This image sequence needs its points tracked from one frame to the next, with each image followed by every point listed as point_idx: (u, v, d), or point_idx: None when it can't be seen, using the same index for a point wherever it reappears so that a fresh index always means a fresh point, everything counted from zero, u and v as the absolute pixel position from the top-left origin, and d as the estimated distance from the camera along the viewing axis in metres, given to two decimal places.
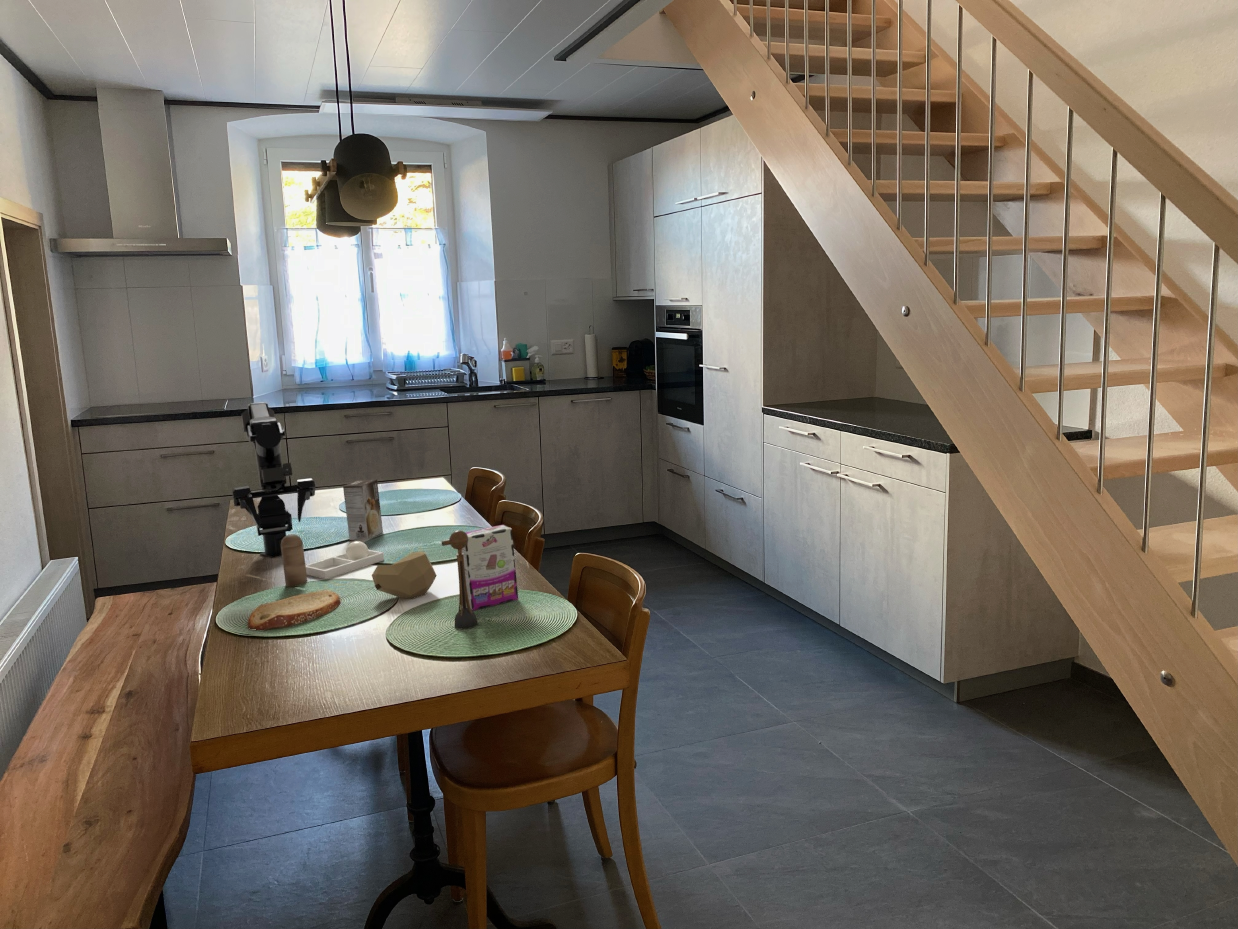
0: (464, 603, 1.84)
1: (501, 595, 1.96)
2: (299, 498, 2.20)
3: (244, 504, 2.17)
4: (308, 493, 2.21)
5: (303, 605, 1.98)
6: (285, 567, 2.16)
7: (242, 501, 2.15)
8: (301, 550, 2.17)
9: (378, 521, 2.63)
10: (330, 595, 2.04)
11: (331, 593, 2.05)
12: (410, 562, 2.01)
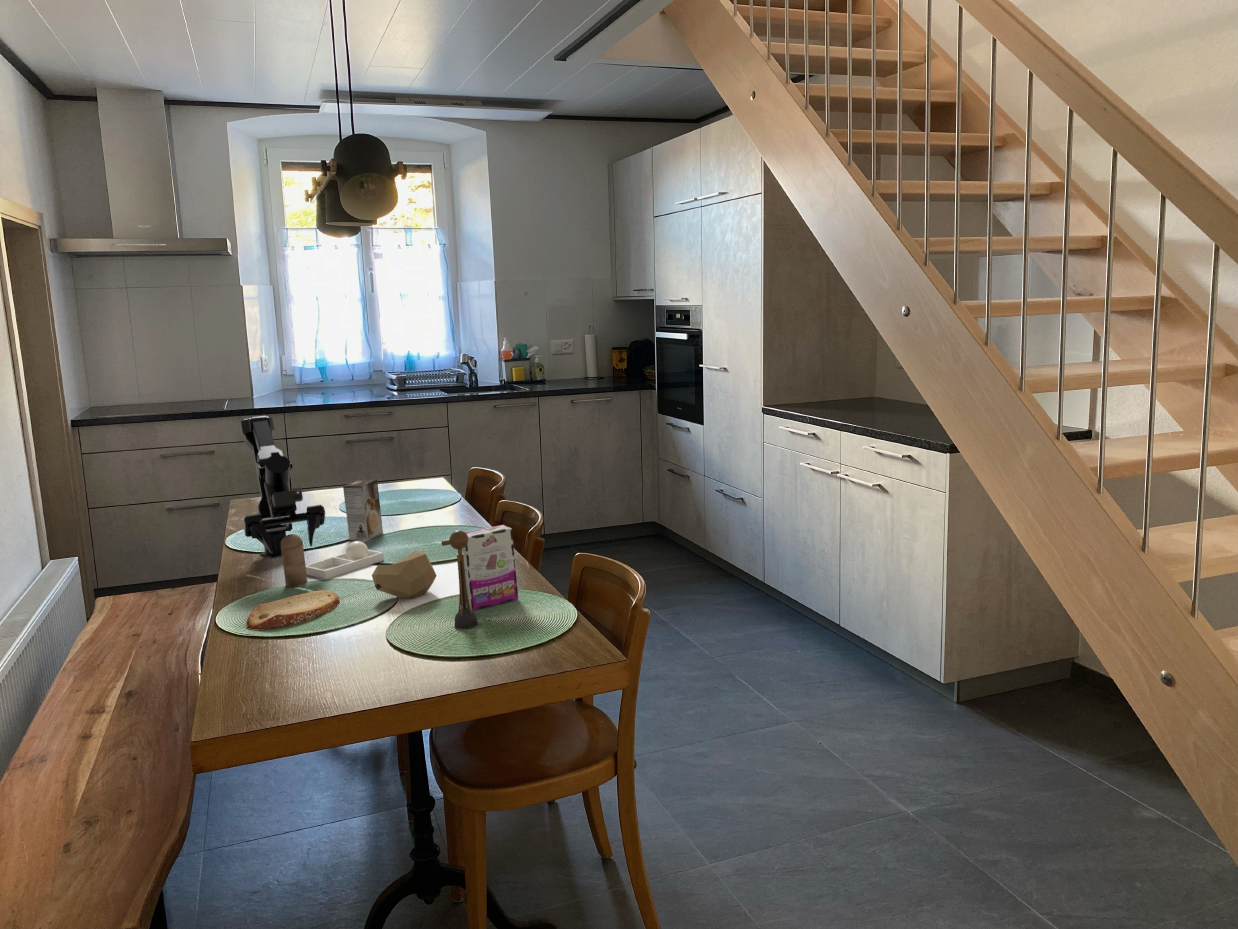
0: (464, 603, 1.84)
1: (501, 595, 1.96)
2: (310, 523, 2.22)
3: (255, 532, 2.18)
4: (318, 518, 2.24)
5: (302, 605, 1.98)
6: (285, 567, 2.16)
7: (254, 528, 2.17)
8: (301, 550, 2.17)
9: (378, 521, 2.63)
10: (329, 595, 2.04)
11: (330, 593, 2.05)
12: (410, 562, 2.01)
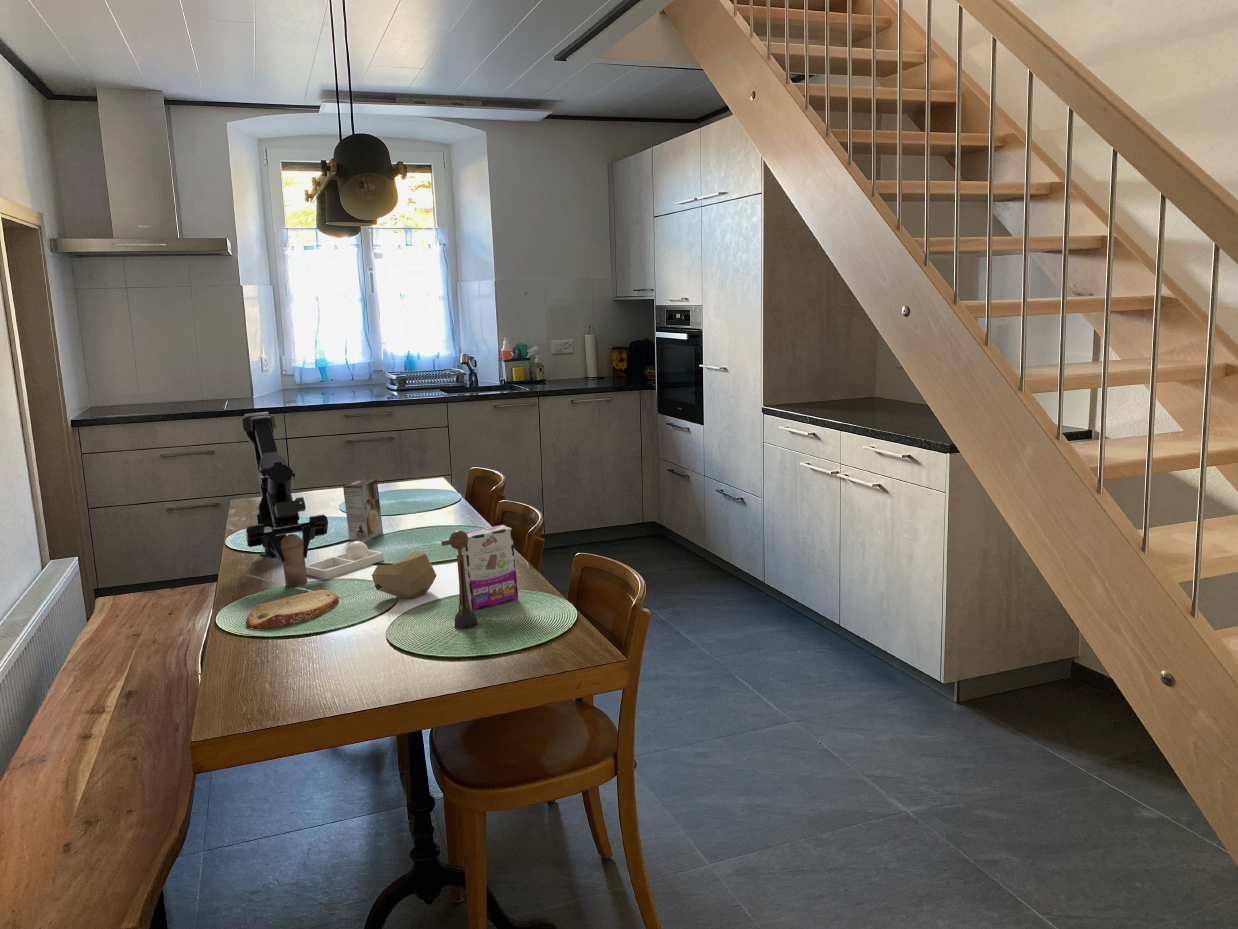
0: (464, 603, 1.84)
1: (501, 595, 1.96)
2: (304, 534, 2.20)
3: (266, 541, 2.18)
4: (313, 530, 2.21)
5: (301, 605, 1.98)
6: (285, 567, 2.16)
7: (265, 537, 2.16)
8: (301, 550, 2.17)
9: (378, 521, 2.63)
10: (328, 595, 2.04)
11: (329, 593, 2.05)
12: (410, 562, 2.01)
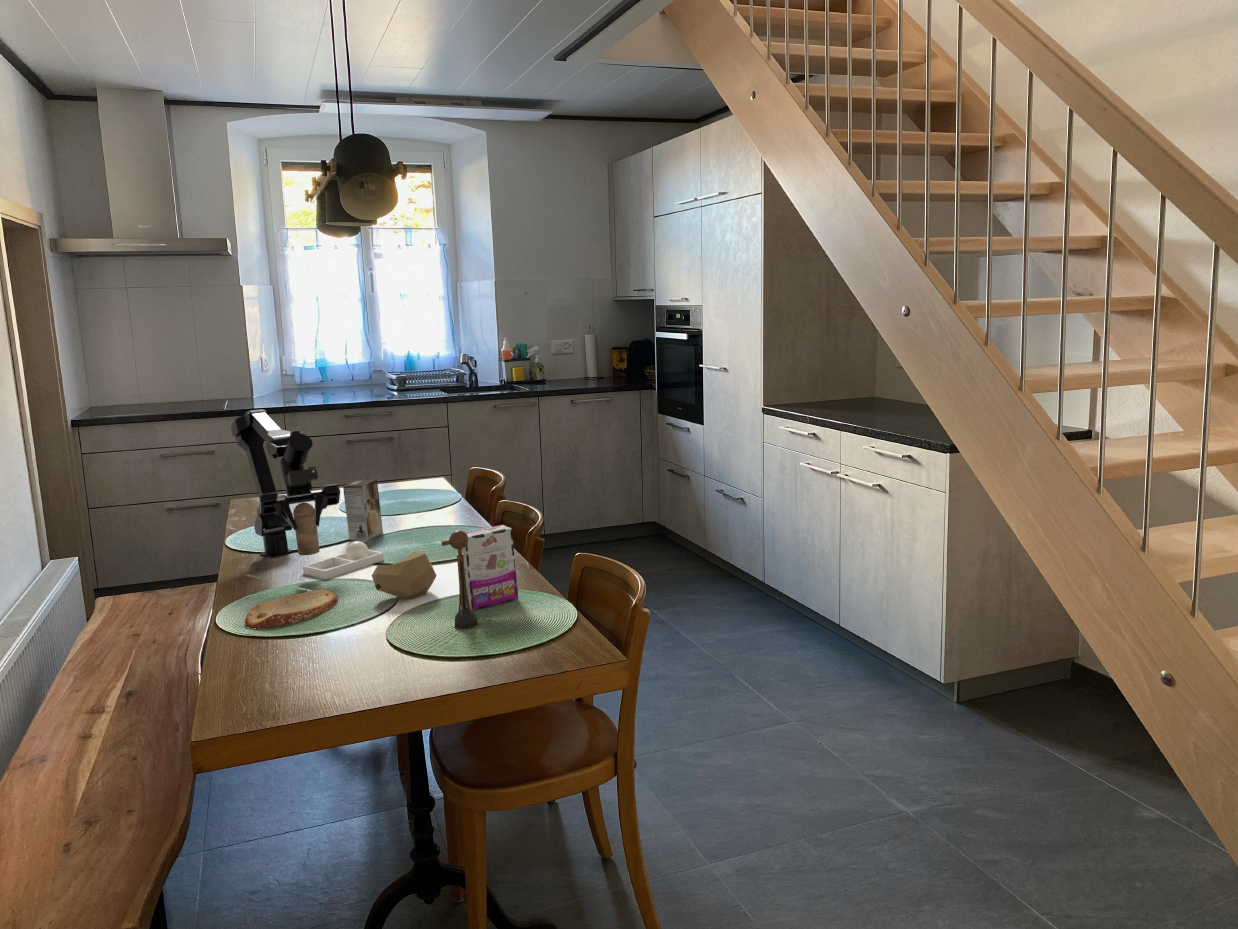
0: (464, 603, 1.84)
1: (501, 595, 1.96)
2: (317, 503, 2.22)
3: (279, 509, 2.20)
4: (325, 499, 2.24)
5: (300, 604, 1.99)
6: (297, 535, 2.18)
7: (278, 505, 2.18)
8: (313, 518, 2.19)
9: (378, 521, 2.63)
10: (327, 594, 2.05)
11: (328, 592, 2.05)
12: (410, 562, 2.01)
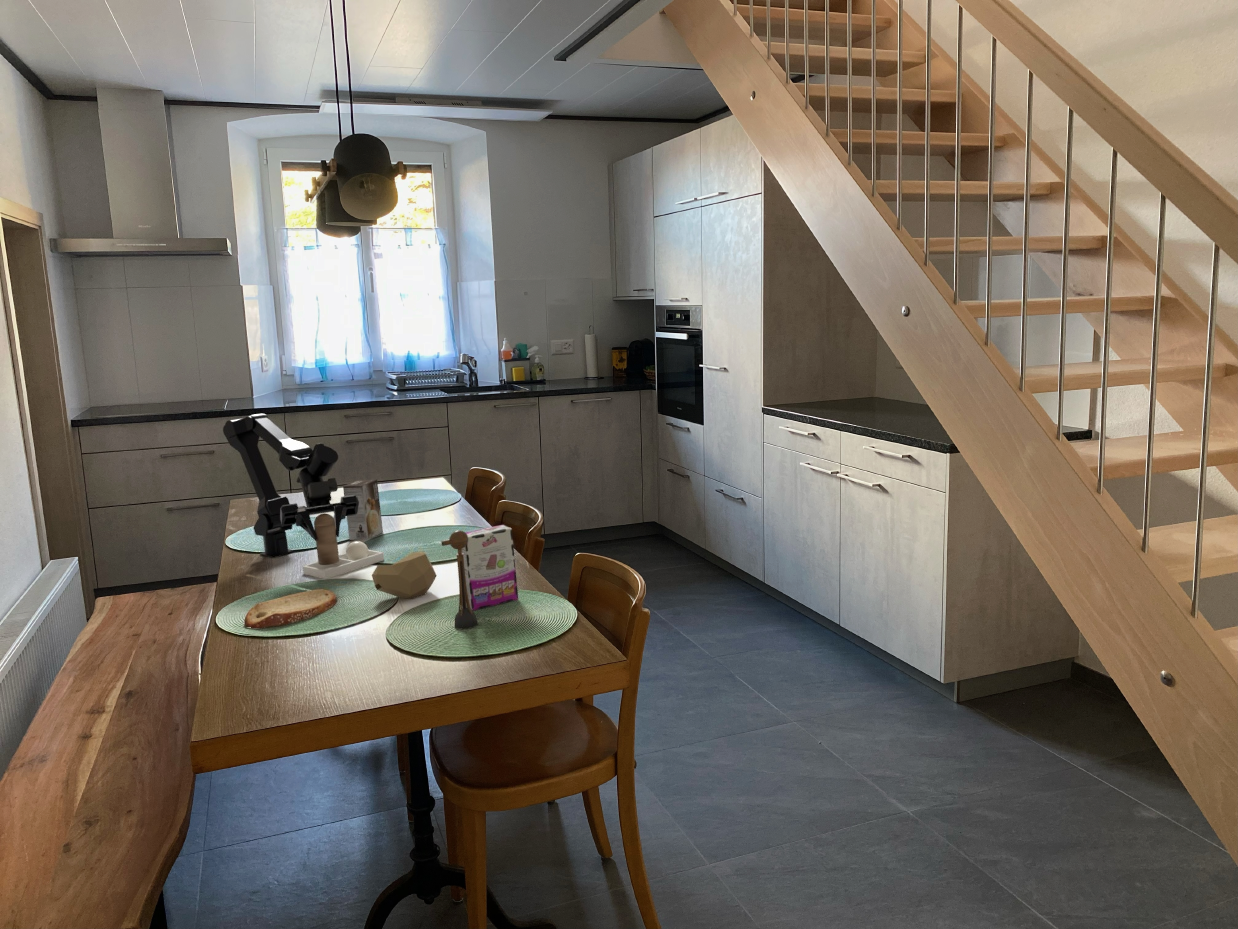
0: (464, 603, 1.84)
1: (501, 595, 1.96)
2: (336, 514, 2.27)
3: (300, 520, 2.25)
4: (344, 510, 2.28)
5: (300, 604, 1.99)
6: (318, 545, 2.23)
7: (298, 516, 2.23)
8: (333, 529, 2.24)
9: (378, 521, 2.63)
10: (326, 594, 2.05)
11: (327, 592, 2.06)
12: (410, 562, 2.01)
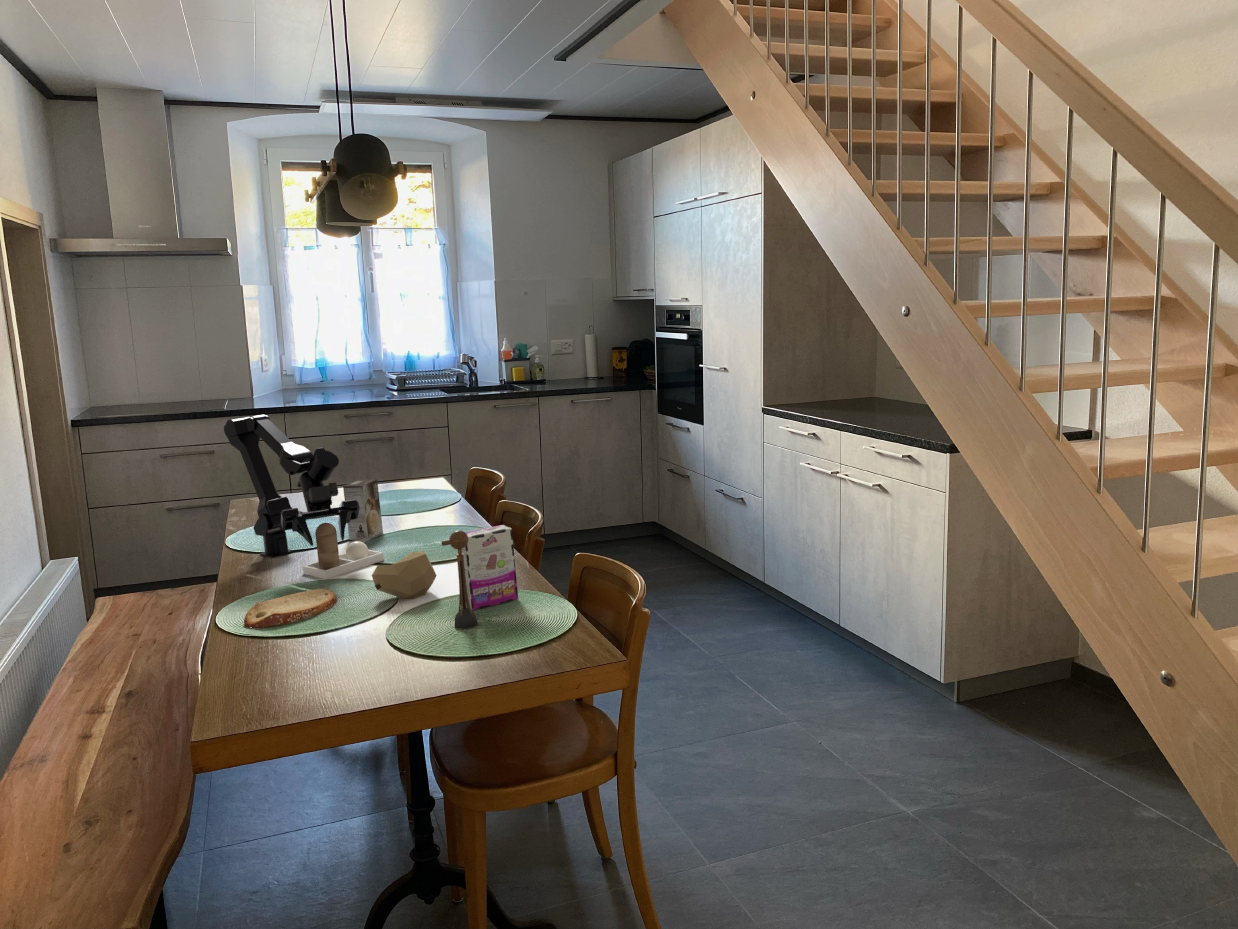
0: (464, 603, 1.84)
1: (501, 595, 1.96)
2: (341, 518, 2.27)
3: (296, 525, 2.24)
4: (349, 513, 2.29)
5: (299, 603, 1.99)
6: (319, 554, 2.24)
7: (295, 521, 2.23)
8: (335, 538, 2.24)
9: (378, 521, 2.63)
10: (326, 593, 2.05)
11: (327, 591, 2.06)
12: (410, 562, 2.01)
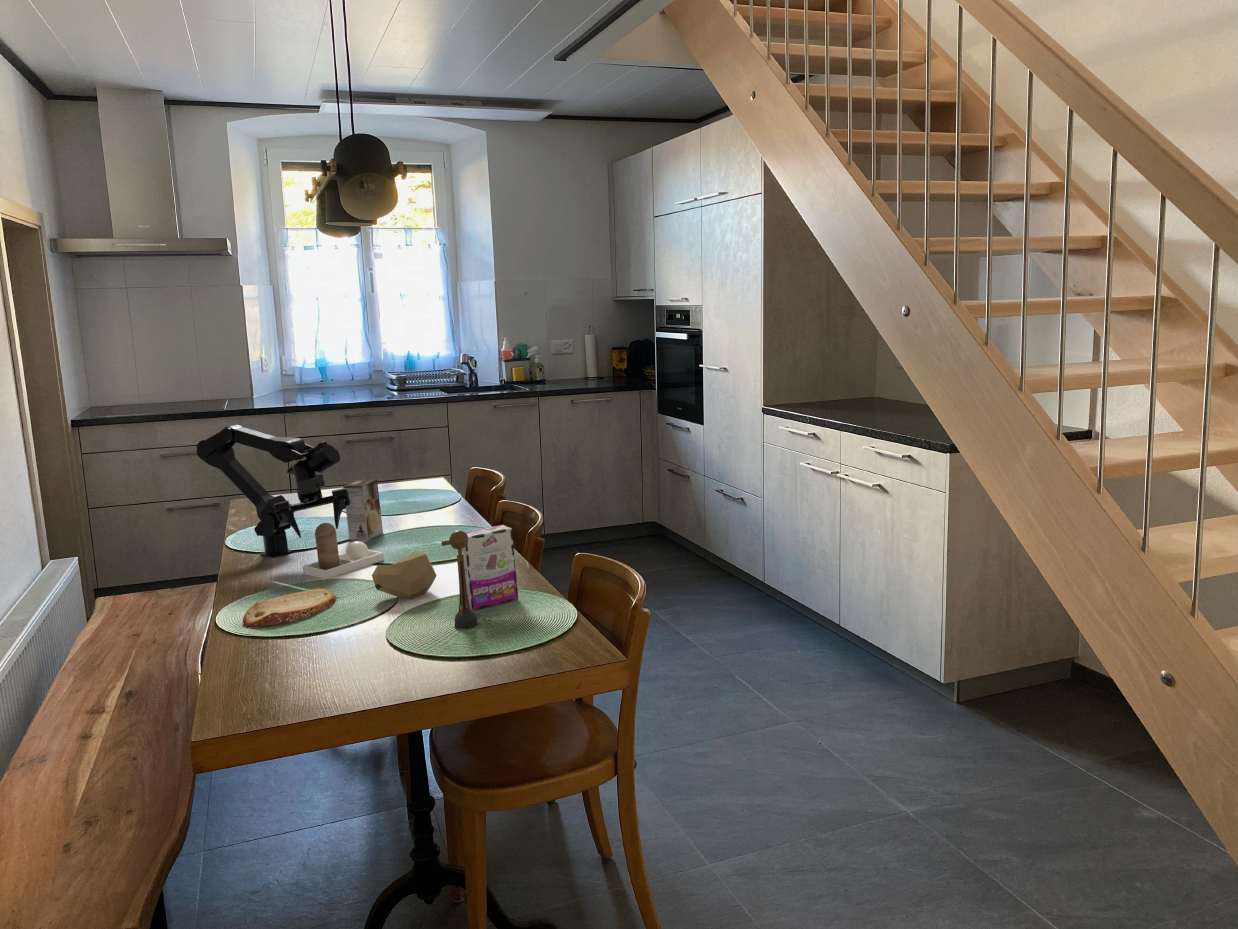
0: (464, 603, 1.84)
1: (501, 595, 1.96)
2: (334, 507, 2.35)
3: (285, 518, 2.33)
4: (343, 501, 2.36)
5: (298, 603, 1.99)
6: (319, 555, 2.24)
7: (283, 515, 2.31)
8: (334, 538, 2.24)
9: (378, 521, 2.63)
10: (325, 593, 2.05)
11: (326, 591, 2.06)
12: (410, 562, 2.01)
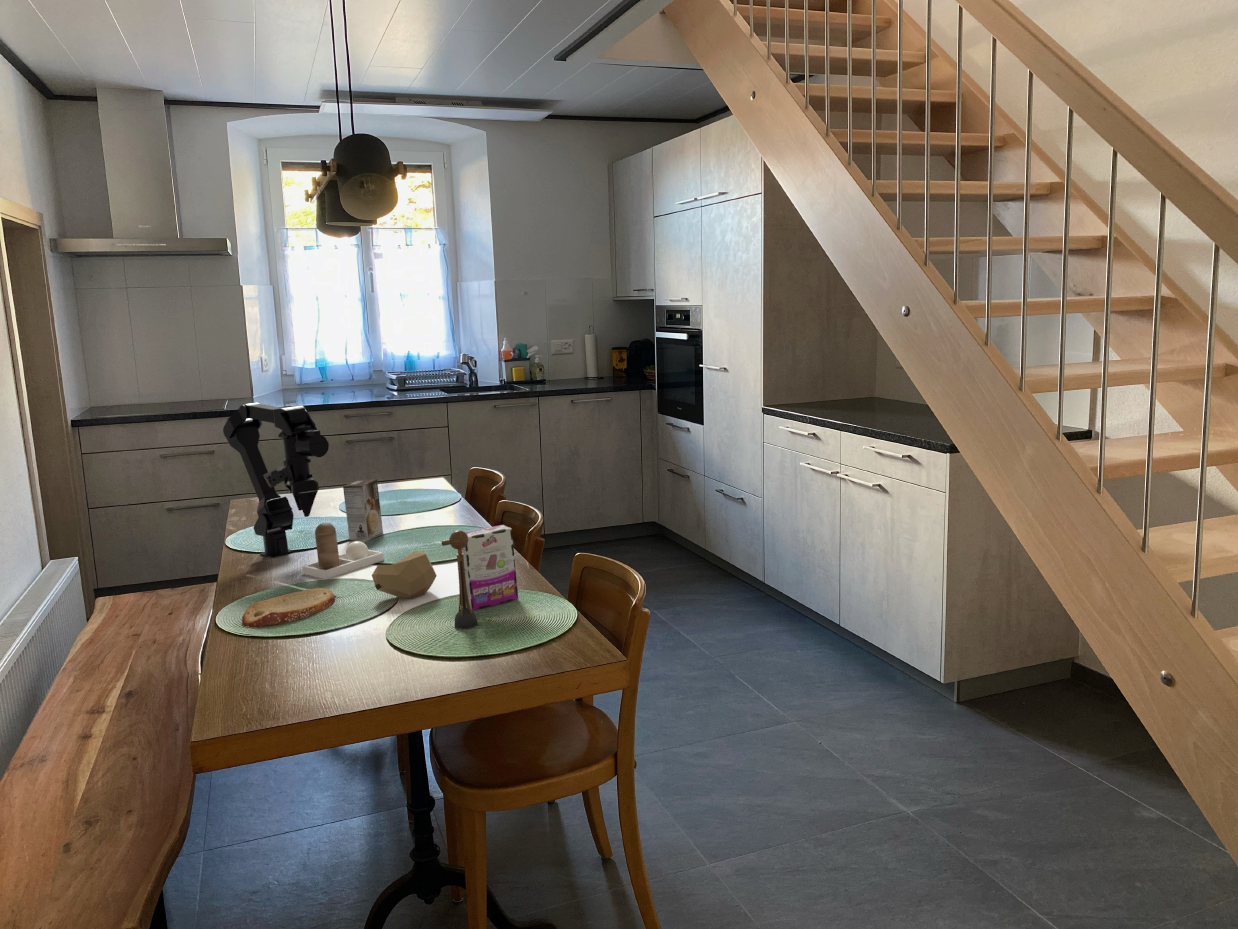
0: (464, 603, 1.84)
1: (501, 595, 1.96)
2: None
3: None
4: None
5: (297, 603, 2.00)
6: (319, 554, 2.24)
7: None
8: (335, 538, 2.24)
9: (378, 521, 2.63)
10: (325, 593, 2.06)
11: (326, 591, 2.06)
12: (410, 562, 2.01)
